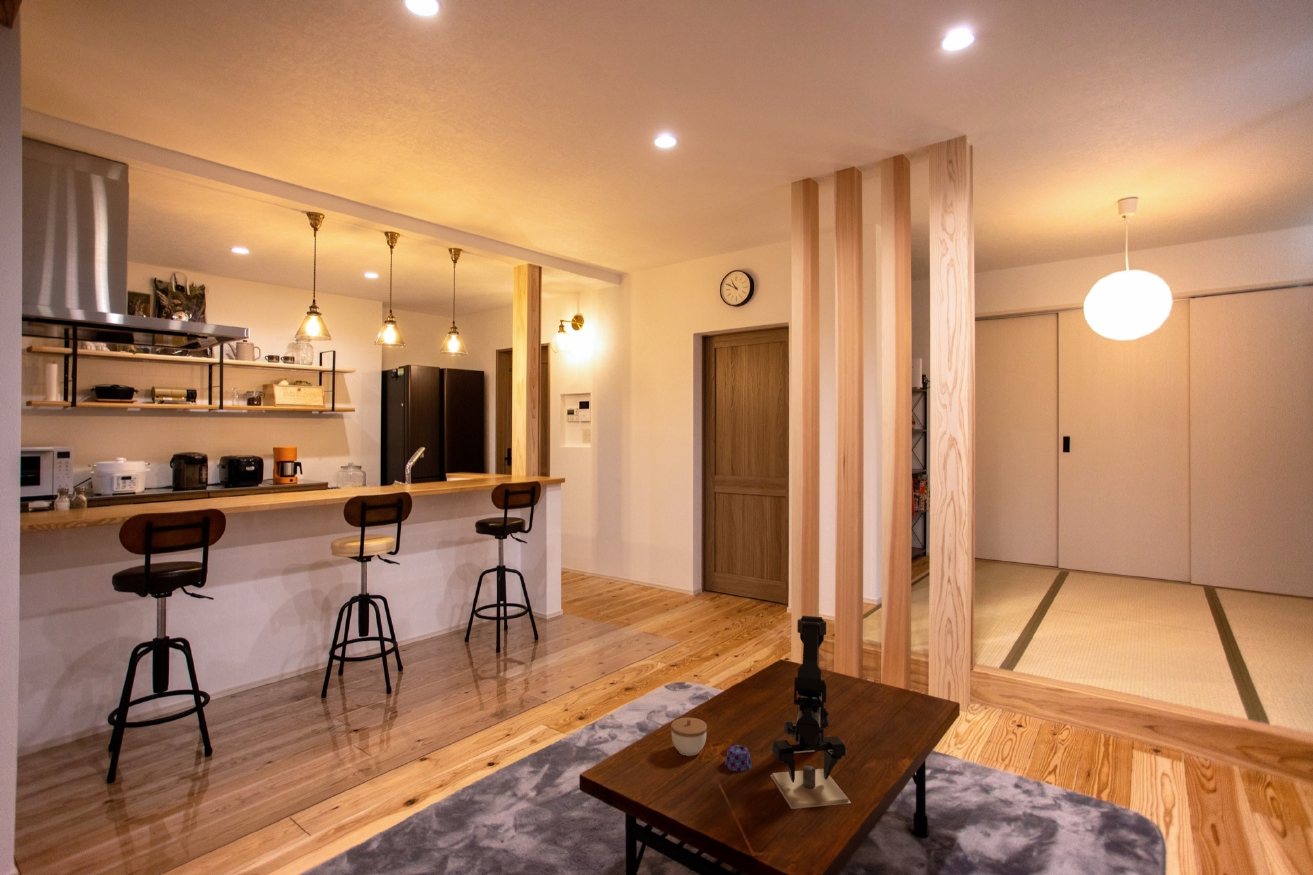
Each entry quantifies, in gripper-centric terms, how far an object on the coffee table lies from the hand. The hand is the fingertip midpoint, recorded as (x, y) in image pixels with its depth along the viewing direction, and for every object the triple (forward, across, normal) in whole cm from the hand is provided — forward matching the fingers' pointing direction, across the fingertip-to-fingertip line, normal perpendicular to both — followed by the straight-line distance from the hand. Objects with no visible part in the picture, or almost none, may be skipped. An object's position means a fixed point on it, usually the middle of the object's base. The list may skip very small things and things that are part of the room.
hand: (809, 780), depth 169 cm
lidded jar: (+3, +27, -26) cm, 38 cm away
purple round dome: (+3, +15, -15) cm, 21 cm away
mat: (+3, 0, 0) cm, 3 cm away
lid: (+2, 0, 0) cm, 2 cm away
